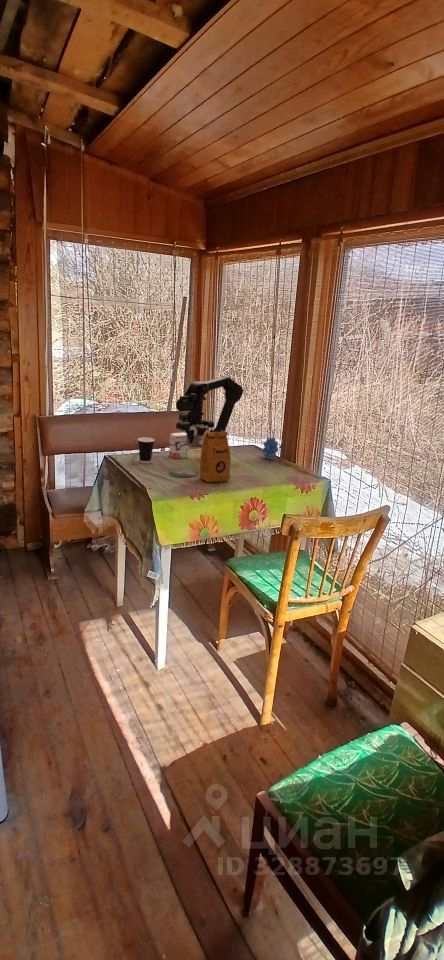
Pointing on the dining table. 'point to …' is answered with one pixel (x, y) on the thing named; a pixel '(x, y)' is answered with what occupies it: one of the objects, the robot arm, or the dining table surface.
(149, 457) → the dixie cup
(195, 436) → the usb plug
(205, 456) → the coffee package
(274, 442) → the grapes
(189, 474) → the gray plate
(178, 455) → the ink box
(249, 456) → the dining table surface
